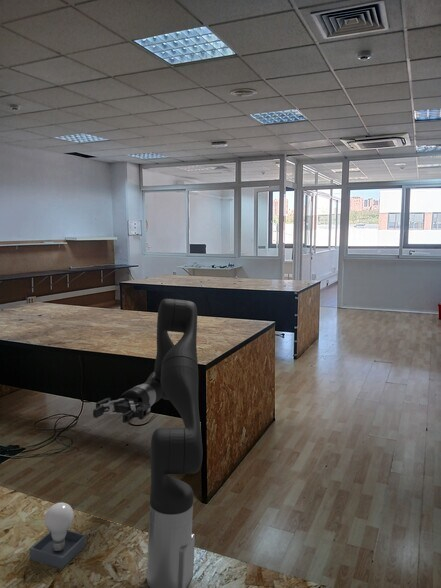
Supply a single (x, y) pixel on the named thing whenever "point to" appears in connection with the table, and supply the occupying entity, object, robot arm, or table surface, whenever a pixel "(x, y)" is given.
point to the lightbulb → (59, 523)
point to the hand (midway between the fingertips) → (109, 416)
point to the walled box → (57, 558)
